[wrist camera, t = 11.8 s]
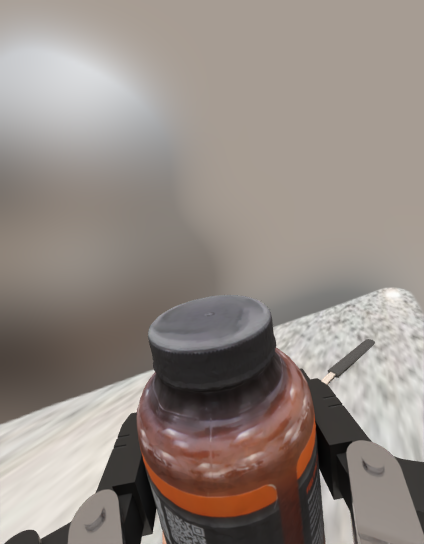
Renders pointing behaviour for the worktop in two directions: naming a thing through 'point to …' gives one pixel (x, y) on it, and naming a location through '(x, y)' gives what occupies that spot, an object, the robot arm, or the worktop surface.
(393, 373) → the worktop surface
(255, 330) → the supplement bottle
